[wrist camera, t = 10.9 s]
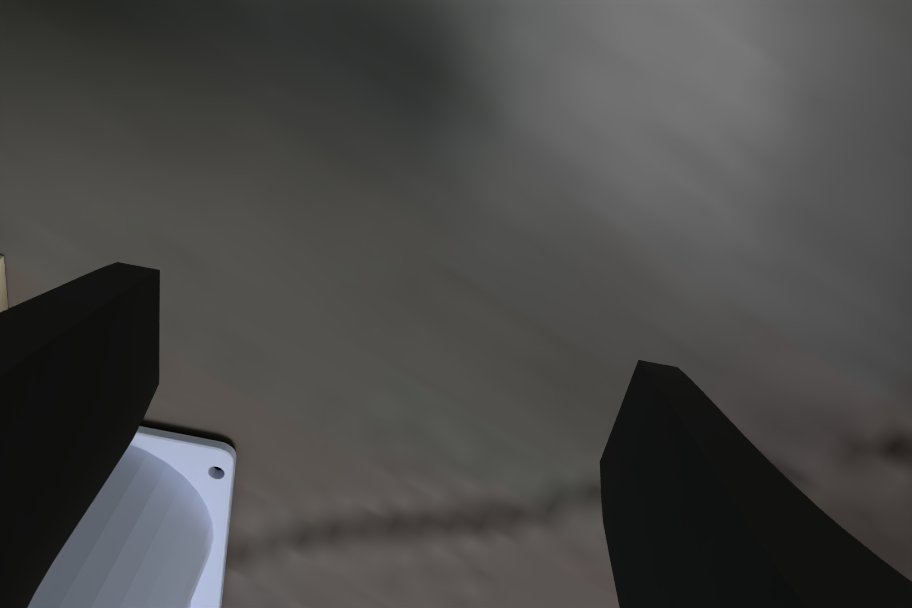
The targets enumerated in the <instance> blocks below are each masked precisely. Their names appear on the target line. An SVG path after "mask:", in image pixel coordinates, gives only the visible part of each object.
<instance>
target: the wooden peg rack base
mask: <svg viewBox="0 0 912 608" xmlns="http://www.w3.org/2000/svg"><path fill="white" fill-rule="evenodd" d="M7 309H8V300H7V288H6V276H5V264H4V256H1V255H0V312H2V311H4V310H7Z"/></svg>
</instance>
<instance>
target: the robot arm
mask: <svg viewBox="0 0 912 608" xmlns="http://www.w3.org/2000/svg"><path fill="white" fill-rule="evenodd" d="M159 301H160V270H156V269H151V268H146V267H141V266H135V265H130V264H125V263H119V262H117V263H114V264H111V265H108V266H105V267H103V268H100V269H98V270H95V271H93V272H91V273H88V274H86V275H84V276H81V277H79V278H77V279H75V280H72V281H70V282H68V283H66V284H63V285H61V286H59V287H57V288H55V289H52V290H50V291H48V292H46V293H43V294H41V295H39V296H36V297H34V298H32V299H30V300H27V301H25V302H23V303H20V304H18V305H16V306H14V307H11V308H9V309H7V310H4V311H2V312H0V608H221V604H222V594H223V584H224V574H225V564H226V554H227V544H228V534H229V524H230V515H231V505H232V495H233V485H234V475H235V465H236V452H235V450H234V449H233V447H231V446H230V445H228V444H226V443H224V442H220V441H215V440H209V439H204V438H199V437H194V436H189V435H183V434H178V433H173V432H168V431H163V430H157V429H152V428H147V427H142V426H140V424H141V422H142V420H143V418H144V416H145V414H146V411H147V409H148V407H149V405H150V402H151V400H152V398H153V396H154V393H155V391H156V389H157V387H158V385H159ZM214 467H219V468H221V469H222V470H223V471H219V470H217V469H215V468H214ZM600 477H601V499H602V514H603V524H604V529H605V535H606V540H607V545H608V551H609V556H610V561H611V566H612V571H613V576H614V581H615V586H616V591H617V596H618V601H619V606H620V608H912V581H910V580H909V579H907V578H906V577H905V576H903V575H902V574H901V573H899V572H898V571H897V570H895V569H894V568H892V567H891V566H890V565H888V564H887V563H886V562H884V561H883V560H882V559H881V558H879V557H878V556H877V555H876V554H874V553H873V552H872V551H871V550H869V549H868V548H867V547H866V546H864V545H863V544H862V543H861V542H859V541H858V540H857V539H856V538H854V537H853V536H852V535H851V534H849V533H848V532H847V531H846V530H844V529H843V528H842V527H841V526H839V525H838V524H837V523H836V522H835V521H834V520H832V519H831V518H830V517H829V516H828V515H827V514H825V513H824V512H823V511H822V510H821V509H820V508H819V507H818V506H816V505H815V504H814V503H813V502H812V501H811V500H810V499H809V498H808V497H807V496H806V495H805V494H803V493H802V492H801V491H800V490H799V489H798V488H797V487H796V486H795V485H794V484H793V483H792V482H791V481H789V480H788V479H787V478H786V477H785V476H784V475H783V474H782V473H781V472H780V471H779V470H778V469H777V468H776V467H775V466H774V465H773V464H772V463H771V462H770V461H769V460H768V459H767V458H766V457H765V456H764V455H763V454H762V453H761V452H760V451H759V450H758V449H757V448H756V447H755V446H754V445H753V444H752V443H751V442H750V441H749V440H748V439H747V438H746V437H745V436H744V435H743V434H742V433H741V432H740V430H739V429H738V428H737V427H736V426H735V425H734V424H733V423H732V422H731V421H730V420H729V419H728V418H727V417H726V416H725V415H724V414H723V413H722V411H721V410H720V409H719V408H718V407H717V406H716V405H715V404H714V403H713V402H712V401H711V400H710V399H709V398H708V397H707V396H706V395H705V394H704V392H703V391H702V390H701V389H700V388H699V387H698V386H697V385H696V384H695V383H694V382H693V381H692V380H691V379H690V378H689V377H688V376H687V375H686V374H685V373H683V372H682V371H681V370H680V369H679V368H678V367H673V366H668V365H663V364H657V363H652V362H647V361H641V360H638V363H637V366H636V368H635V371H634V373H633V376H632V379H631V381H630V384H629V387H628V389H627V392H626V394H625V397H624V400H623V402H622V405H621V408H620V410H619V413H618V416H617V418H616V421H615V423H614V426H613V429H612V431H611V434H610V437H609V439H608V442H607V444H606V447H605V450H604V452H603V455H602V458H601V460H600Z"/></svg>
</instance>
